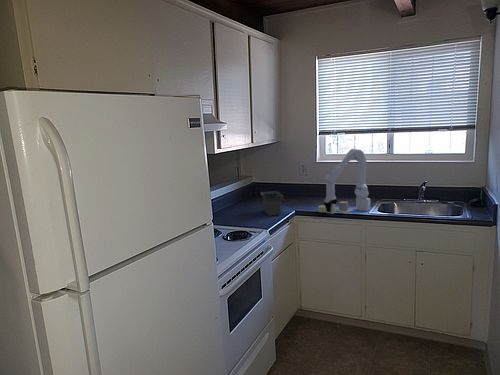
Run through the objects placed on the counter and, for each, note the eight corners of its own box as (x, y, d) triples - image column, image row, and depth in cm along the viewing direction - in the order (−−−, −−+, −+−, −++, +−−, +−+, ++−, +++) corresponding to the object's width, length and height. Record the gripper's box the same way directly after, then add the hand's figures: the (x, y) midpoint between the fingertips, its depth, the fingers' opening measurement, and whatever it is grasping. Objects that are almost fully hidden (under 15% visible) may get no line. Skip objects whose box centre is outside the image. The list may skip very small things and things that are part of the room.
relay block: (325, 211, 271) (325, 205, 270) (324, 212, 267) (323, 207, 266) (319, 210, 272) (319, 205, 272) (318, 212, 269) (318, 206, 268)
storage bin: (259, 210, 282) (259, 191, 279) (279, 208, 284) (279, 190, 282) (266, 217, 261) (265, 197, 258) (287, 215, 264) (287, 195, 261)
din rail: (352, 210, 269) (352, 201, 268) (348, 212, 263) (348, 203, 262) (324, 207, 282) (323, 198, 281) (319, 209, 276) (319, 201, 275)
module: (335, 212, 266) (335, 203, 265) (332, 213, 262) (332, 205, 261) (328, 211, 269) (328, 203, 268) (326, 213, 265) (326, 204, 264)
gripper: (329, 189, 271) (329, 207, 273) (320, 193, 259) (321, 212, 262) (338, 190, 267) (338, 208, 269) (330, 194, 255) (330, 213, 258)
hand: (330, 210), depth 265 cm, fingers open, 7 cm apart
